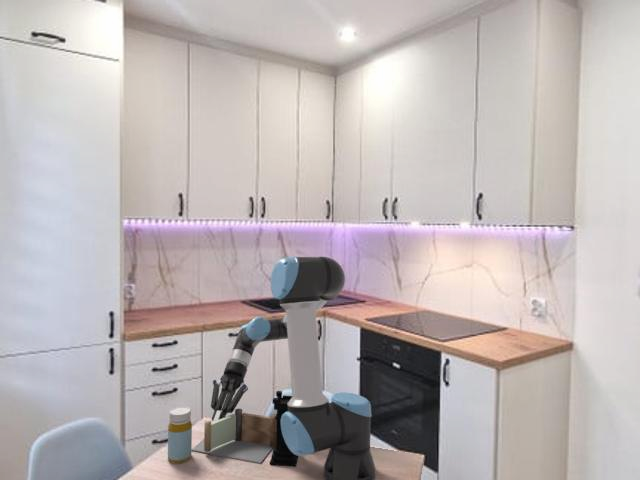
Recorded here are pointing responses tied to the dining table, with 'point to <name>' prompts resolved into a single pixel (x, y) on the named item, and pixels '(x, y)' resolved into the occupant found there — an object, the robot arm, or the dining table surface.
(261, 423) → the walnut fence section
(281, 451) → the chess piece
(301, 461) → the dining table surface
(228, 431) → the fence panel
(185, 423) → the bottle
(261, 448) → the board
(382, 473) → the dining table surface
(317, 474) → the dining table surface
